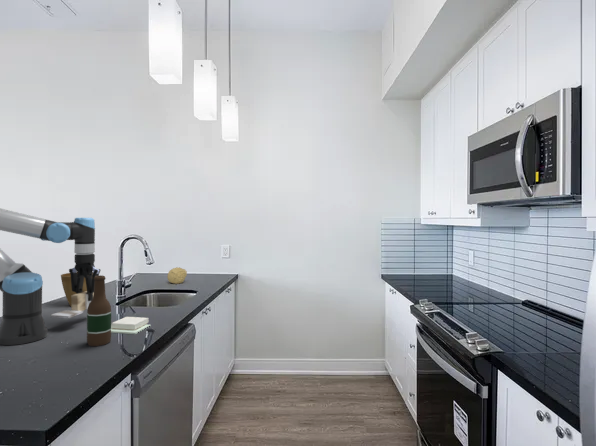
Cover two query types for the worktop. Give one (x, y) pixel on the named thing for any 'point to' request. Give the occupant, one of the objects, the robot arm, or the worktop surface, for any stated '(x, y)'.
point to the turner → (73, 306)
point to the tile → (129, 323)
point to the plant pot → (68, 288)
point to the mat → (129, 330)
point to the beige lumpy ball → (177, 275)
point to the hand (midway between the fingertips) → (84, 308)
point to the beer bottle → (99, 315)
